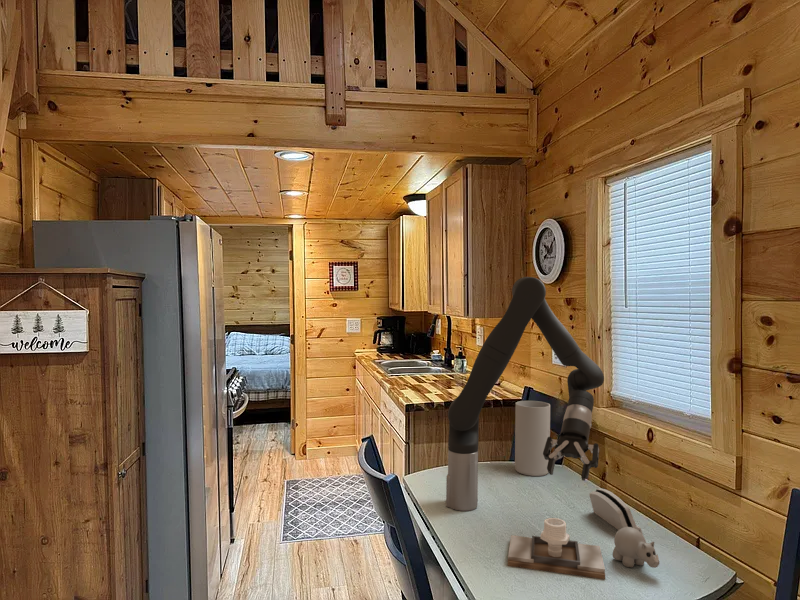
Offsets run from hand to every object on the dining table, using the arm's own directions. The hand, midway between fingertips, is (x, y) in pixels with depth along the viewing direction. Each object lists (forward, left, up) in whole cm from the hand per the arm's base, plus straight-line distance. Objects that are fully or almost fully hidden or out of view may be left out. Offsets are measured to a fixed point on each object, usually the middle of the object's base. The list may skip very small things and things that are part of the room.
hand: (566, 476), depth 143 cm
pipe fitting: (-3, -11, -16) cm, 20 cm away
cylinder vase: (-10, +56, -17) cm, 59 cm away
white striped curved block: (+13, +15, -17) cm, 27 cm away
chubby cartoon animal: (+16, -10, -17) cm, 26 cm away
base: (-3, -11, -17) cm, 21 cm away
